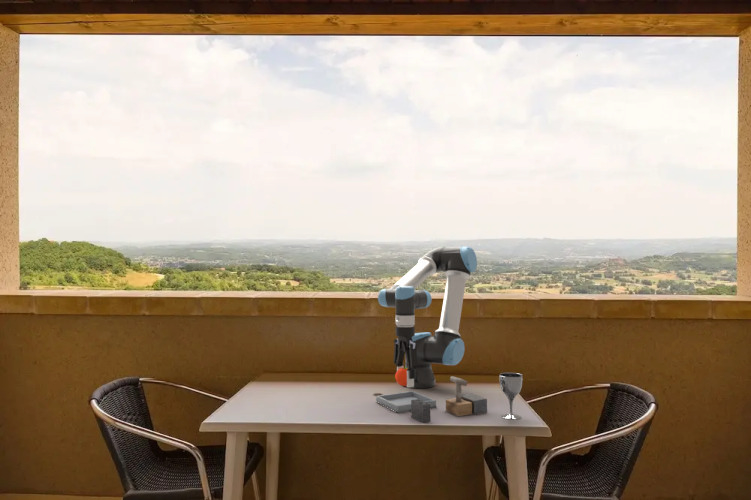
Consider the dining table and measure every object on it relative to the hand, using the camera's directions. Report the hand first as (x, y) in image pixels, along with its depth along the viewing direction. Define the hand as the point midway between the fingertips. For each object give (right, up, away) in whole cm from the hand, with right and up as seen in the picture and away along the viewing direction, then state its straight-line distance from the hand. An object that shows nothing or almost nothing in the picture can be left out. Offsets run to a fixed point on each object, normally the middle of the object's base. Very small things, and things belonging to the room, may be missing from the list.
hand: (405, 384), depth 212 cm
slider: (+19, -7, -12) cm, 24 cm away
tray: (0, -8, 0) cm, 8 cm away
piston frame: (+15, -7, -14) cm, 22 cm away
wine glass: (+37, -7, -17) cm, 41 cm away
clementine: (0, 0, 0) cm, 0 cm away
